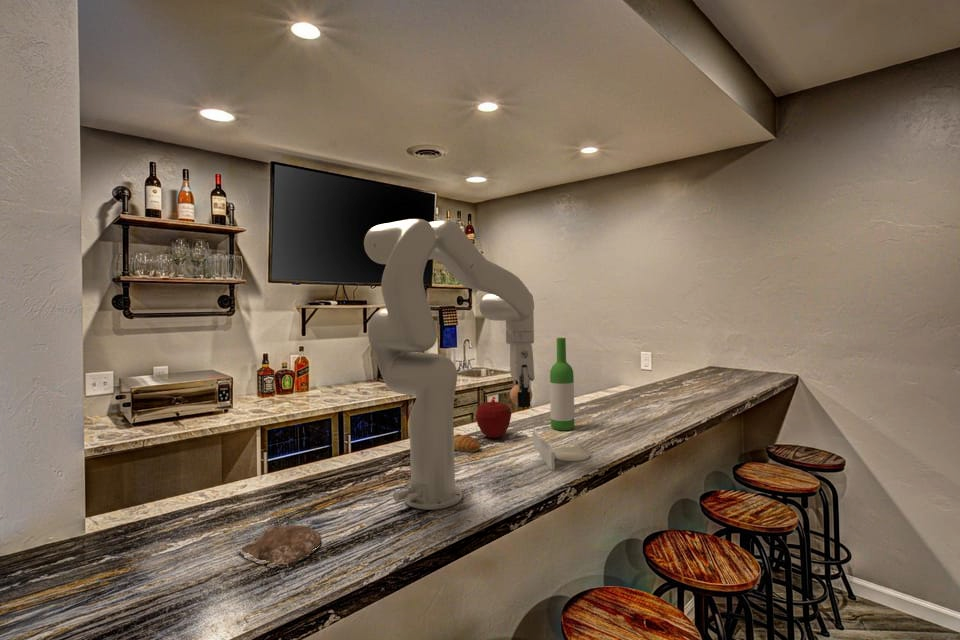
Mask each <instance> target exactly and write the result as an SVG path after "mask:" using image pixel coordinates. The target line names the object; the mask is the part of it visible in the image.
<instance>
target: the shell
mask: <svg viewBox="0 0 960 640" xmlns="http://www.w3.org/2000/svg"><path fill="white" fill-rule="evenodd" d="M320 543H321V544H322V536H321V534H320V532H319V531H317V530H315V529H313V528H311V527H310V526H306V525H295V524H292V525H291V524H290V525H283V526H281V525H279V526H278V525H277V526H276V525H275V526H274V525H273V526H270V527H269V528H268V529H266V530H265V532H264V533H263V535H261V536H260V537H259V538H257V539H256V540H254V541H253V542H251V543H249V544H246V545H244V546H245V547H244V546H242V547H243V548H242V550H243V551H244V552H246V553H249V554H251V555H253V556H254V557H255V558H256V559H260V560H266V561H270V562H274V563H275V564H276V563H278V564H279V563H280V564H284V565H285V564H288V563H290V562H293V561H296V560H298V559H300V558H302V557H304V556H306V555H308V554H309V553H310V552H311V551H312V550H313V549H315V548H317V547H318V546H319V545H320ZM320 546H321V545H320Z"/></svg>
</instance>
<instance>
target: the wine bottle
mask: <svg viewBox="0 0 960 640" xmlns="http://www.w3.org/2000/svg"><path fill="white" fill-rule="evenodd" d="M566 341H567V339H566V337H556V362H555V363H554V364H553V365H552V366H551V368H550V372H549V389H550V390H549V397H550V398H549V401H550V402H549V403H550V405H549V406H550V426H551V428H552V429H553V430H555V431H561V430H563V431H565V430H566V431H570V430H573V429H574V427H575V385H574V383H575V379H574V370H573V367H572V366H571V364H569V363H568V362H567V347H566V345H567V344H566V343H567V342H566Z"/></svg>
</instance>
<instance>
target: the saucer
mask: <svg viewBox="0 0 960 640" xmlns="http://www.w3.org/2000/svg"><path fill="white" fill-rule="evenodd" d="M551 449H552V450H553V451H554V458H555V460H557V461H560V462H571V463H572V462H584V461H586V459H587V460H588V458H589V457H591V452H590V451H588V449H587V450H586V449H584V448H580V447H574V446H562V447H561V446H560V447H556V448H551ZM589 459H590V458H589Z"/></svg>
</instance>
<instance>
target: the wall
mask: <svg viewBox="0 0 960 640" xmlns="http://www.w3.org/2000/svg"><path fill="white" fill-rule="evenodd" d="M532 446H533V447H534V449H535V450H536V451H537V452H538V453H539V455H540V457H541V458H542V459H543V461H544V462H545V463H546V465H547V467H548V468H550V471H555V469H556V465H555V464H556V463H555V462H556V461H555V460H556V459H555V458H554V451H553V450H552V449H553V448H551V446H549V444H548V443H547V441H546V440H545V439H544V438H543V437H542V436H541V435H540V433H539V432H538V431H537V430H536V429H532Z"/></svg>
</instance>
